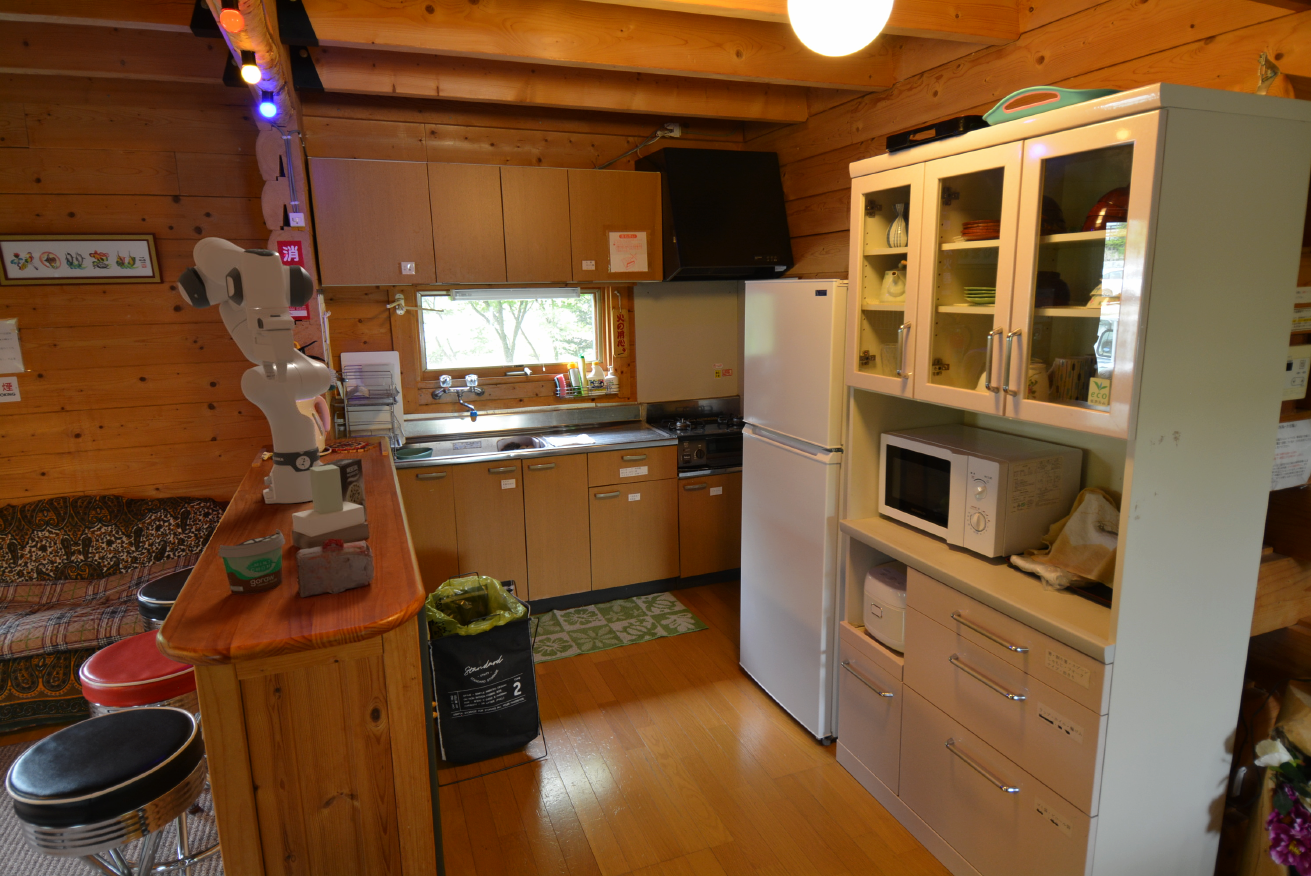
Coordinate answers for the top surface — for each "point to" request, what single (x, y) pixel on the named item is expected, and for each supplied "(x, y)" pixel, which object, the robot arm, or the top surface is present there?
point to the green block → (326, 489)
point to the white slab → (328, 520)
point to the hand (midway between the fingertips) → (276, 381)
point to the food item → (334, 567)
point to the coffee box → (351, 481)
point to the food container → (254, 564)
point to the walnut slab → (331, 536)
